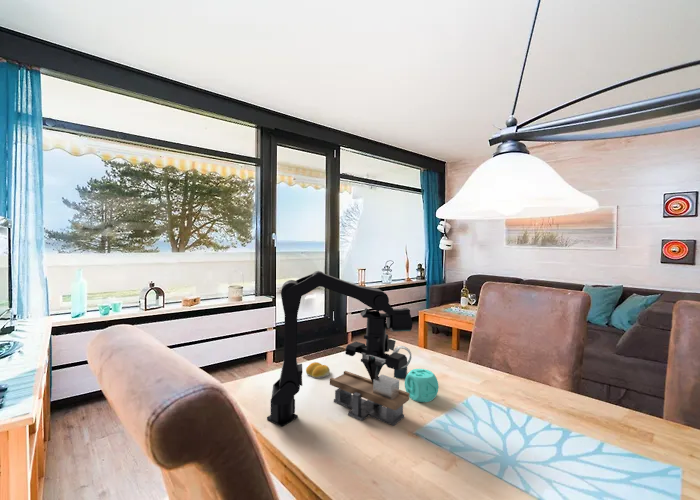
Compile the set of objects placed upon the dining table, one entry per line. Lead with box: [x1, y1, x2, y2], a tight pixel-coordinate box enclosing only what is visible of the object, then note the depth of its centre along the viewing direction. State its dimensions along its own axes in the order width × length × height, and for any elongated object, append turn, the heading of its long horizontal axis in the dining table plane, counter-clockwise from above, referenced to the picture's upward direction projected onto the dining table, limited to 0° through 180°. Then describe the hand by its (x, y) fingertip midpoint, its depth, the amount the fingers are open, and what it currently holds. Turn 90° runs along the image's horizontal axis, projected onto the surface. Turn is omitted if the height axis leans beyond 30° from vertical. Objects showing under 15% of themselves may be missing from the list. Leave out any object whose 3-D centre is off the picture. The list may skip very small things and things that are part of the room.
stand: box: [333, 388, 405, 427], centre depth 106 cm, size 22×13×7 cm, turn 52°
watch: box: [391, 345, 412, 380], centre depth 132 cm, size 6×8×11 cm
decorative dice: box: [404, 368, 440, 403], centre depth 115 cm, size 8×8×8 cm
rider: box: [373, 374, 400, 400], centre depth 102 cm, size 6×5×4 cm
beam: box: [329, 370, 410, 411], centre depth 106 cm, size 24×8×2 cm, turn 52°
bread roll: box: [305, 361, 330, 379], centre depth 133 cm, size 8×9×4 cm
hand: (374, 382), depth 105 cm, fingers closed
